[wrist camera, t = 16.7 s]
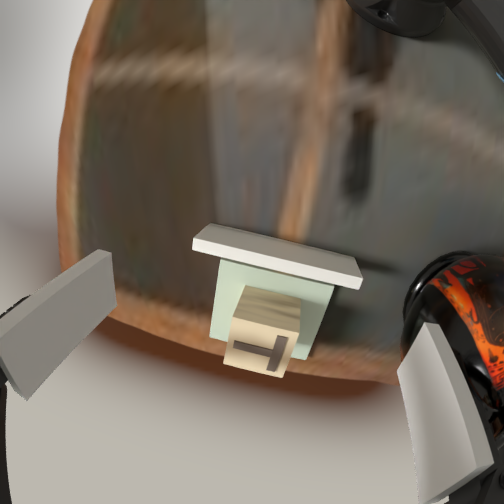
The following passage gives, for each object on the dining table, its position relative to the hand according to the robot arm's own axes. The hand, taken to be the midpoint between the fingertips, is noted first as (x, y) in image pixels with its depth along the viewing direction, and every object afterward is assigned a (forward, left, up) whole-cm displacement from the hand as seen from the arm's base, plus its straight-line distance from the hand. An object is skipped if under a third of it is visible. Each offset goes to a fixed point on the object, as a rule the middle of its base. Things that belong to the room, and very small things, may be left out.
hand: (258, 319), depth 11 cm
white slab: (+3, +6, -27) cm, 28 cm away
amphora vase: (-20, +21, -27) cm, 40 cm away
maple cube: (+8, +15, -26) cm, 31 cm away
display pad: (+8, +15, -27) cm, 32 cm away
